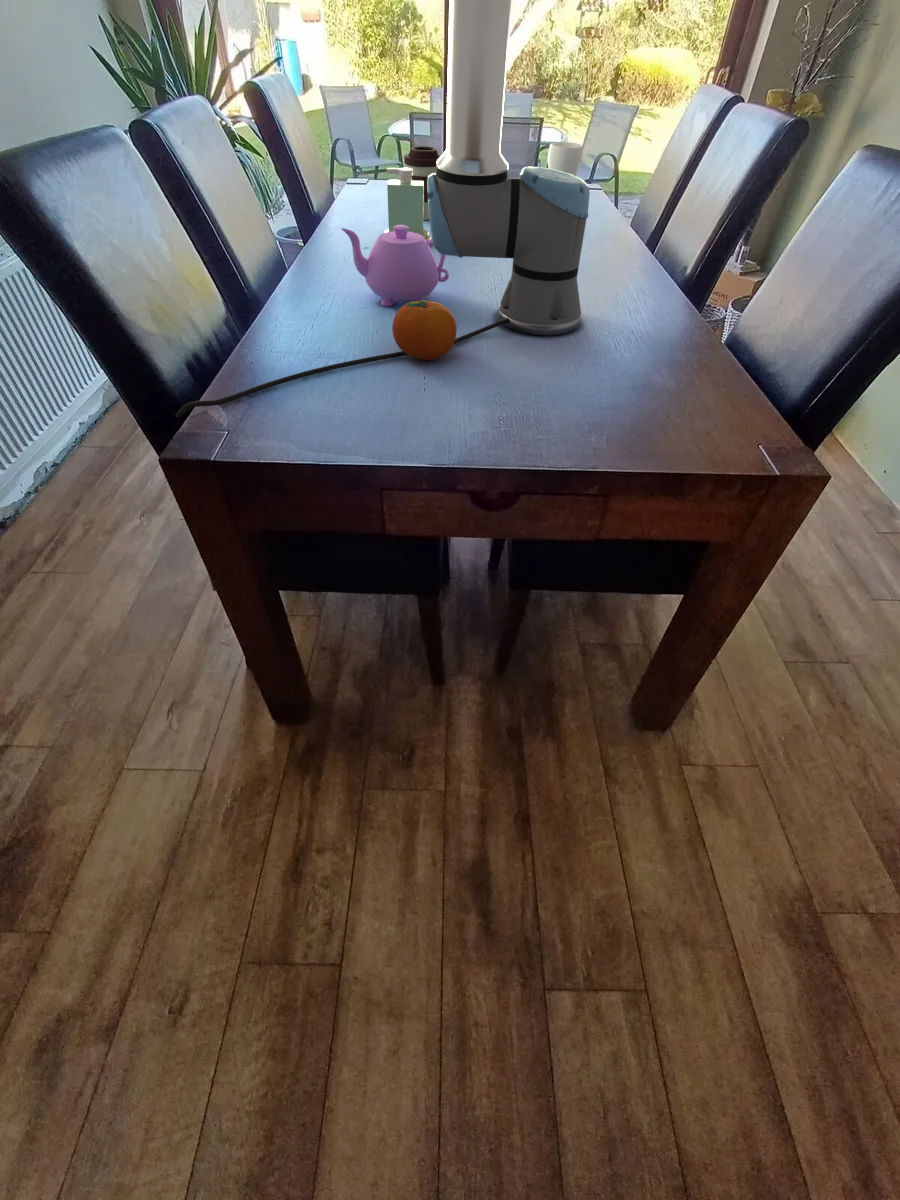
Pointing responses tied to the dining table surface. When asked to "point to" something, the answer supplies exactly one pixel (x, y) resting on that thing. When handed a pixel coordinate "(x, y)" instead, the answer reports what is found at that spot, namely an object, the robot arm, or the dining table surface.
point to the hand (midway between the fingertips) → (474, 122)
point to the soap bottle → (406, 202)
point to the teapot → (399, 265)
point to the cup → (565, 157)
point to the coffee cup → (422, 168)
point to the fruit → (424, 329)
